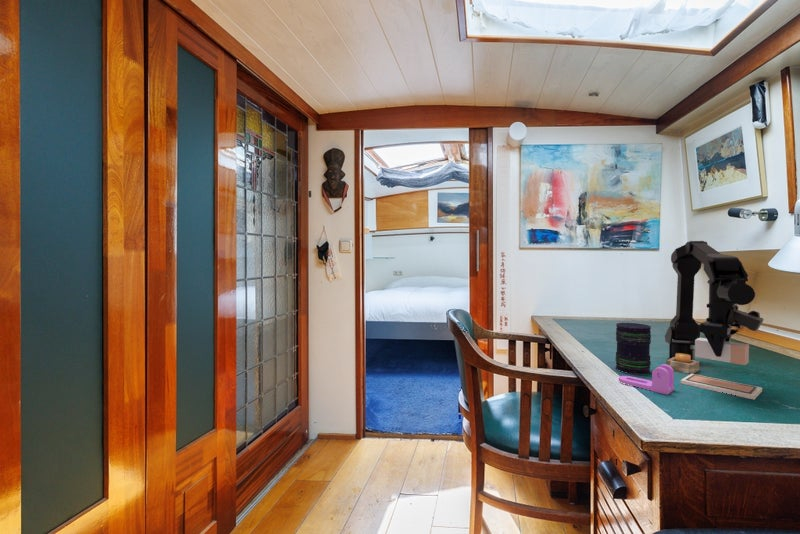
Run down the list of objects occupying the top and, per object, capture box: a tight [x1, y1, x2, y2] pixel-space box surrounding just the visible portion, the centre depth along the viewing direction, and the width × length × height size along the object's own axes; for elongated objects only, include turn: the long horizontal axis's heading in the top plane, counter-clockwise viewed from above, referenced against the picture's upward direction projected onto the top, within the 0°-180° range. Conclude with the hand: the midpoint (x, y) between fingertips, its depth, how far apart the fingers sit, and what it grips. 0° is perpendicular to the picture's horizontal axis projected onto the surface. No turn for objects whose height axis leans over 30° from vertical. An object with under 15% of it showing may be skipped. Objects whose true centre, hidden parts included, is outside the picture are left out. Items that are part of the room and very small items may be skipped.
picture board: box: [680, 373, 763, 401], centre depth 107 cm, size 16×10×1 cm, turn 38°
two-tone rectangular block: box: [694, 337, 750, 366], centre depth 107 cm, size 11×4×5 cm, turn 38°
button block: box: [666, 357, 700, 375], centre depth 124 cm, size 7×7×3 cm
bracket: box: [618, 363, 675, 395], centre depth 108 cm, size 13×6×7 cm, turn 40°
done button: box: [675, 353, 691, 364], centre depth 124 cm, size 4×4×3 cm
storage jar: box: [615, 322, 652, 375], centre depth 123 cm, size 10×10×15 cm
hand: (720, 355), depth 107 cm, fingers closed on two-tone rectangular block, 4 cm apart
